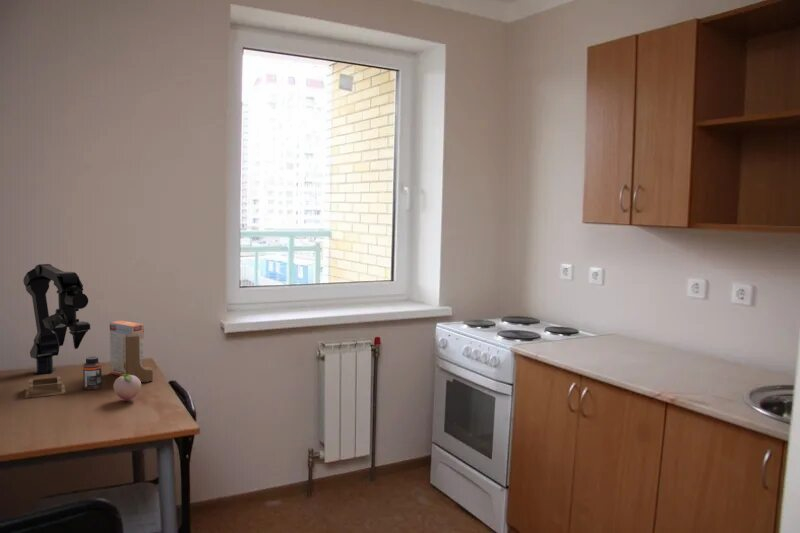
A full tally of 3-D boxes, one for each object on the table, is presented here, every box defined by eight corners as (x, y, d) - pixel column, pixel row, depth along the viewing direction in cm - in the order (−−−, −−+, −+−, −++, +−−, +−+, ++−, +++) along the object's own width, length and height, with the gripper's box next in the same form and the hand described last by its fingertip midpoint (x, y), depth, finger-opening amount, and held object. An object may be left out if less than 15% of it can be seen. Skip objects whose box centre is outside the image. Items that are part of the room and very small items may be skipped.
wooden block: (151, 378, 237) (151, 332, 235) (152, 381, 233) (152, 335, 232) (126, 381, 233) (125, 334, 231) (127, 384, 229) (126, 336, 227)
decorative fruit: (146, 401, 210) (145, 372, 209) (121, 406, 204) (121, 377, 203) (134, 395, 216) (133, 367, 215) (110, 400, 210) (109, 371, 209)
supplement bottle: (87, 385, 226) (87, 355, 225) (104, 385, 227) (103, 355, 226) (80, 390, 220) (80, 359, 219) (97, 390, 221) (97, 359, 220)
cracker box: (145, 376, 240) (144, 323, 238) (131, 379, 235) (130, 326, 233) (123, 370, 247) (122, 319, 246) (109, 373, 242) (108, 321, 240)
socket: (26, 389, 220) (25, 379, 220) (64, 384, 226) (63, 375, 226) (25, 398, 210) (25, 388, 209) (65, 393, 216) (65, 383, 215)
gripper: (31, 306, 226) (32, 348, 227) (61, 311, 217) (62, 354, 218) (60, 302, 235) (61, 342, 237) (90, 307, 226) (91, 348, 228)
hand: (68, 347), depth 230 cm, fingers open, 9 cm apart
